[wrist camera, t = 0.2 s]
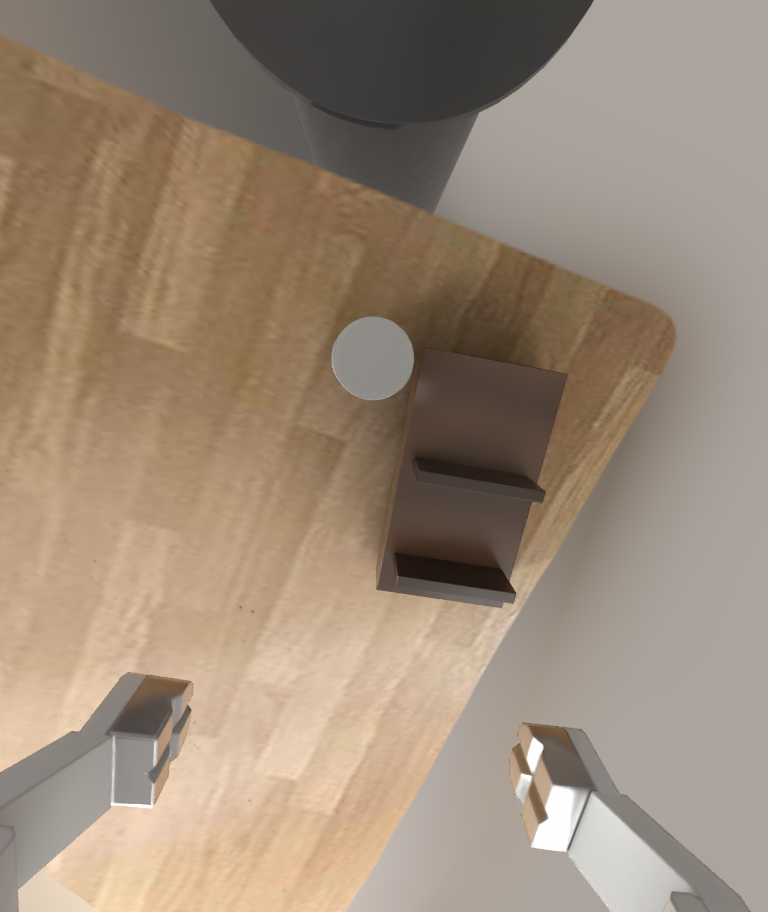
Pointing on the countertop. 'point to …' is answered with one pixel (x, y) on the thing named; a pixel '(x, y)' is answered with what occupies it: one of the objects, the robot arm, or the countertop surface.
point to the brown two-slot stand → (466, 476)
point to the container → (373, 358)
